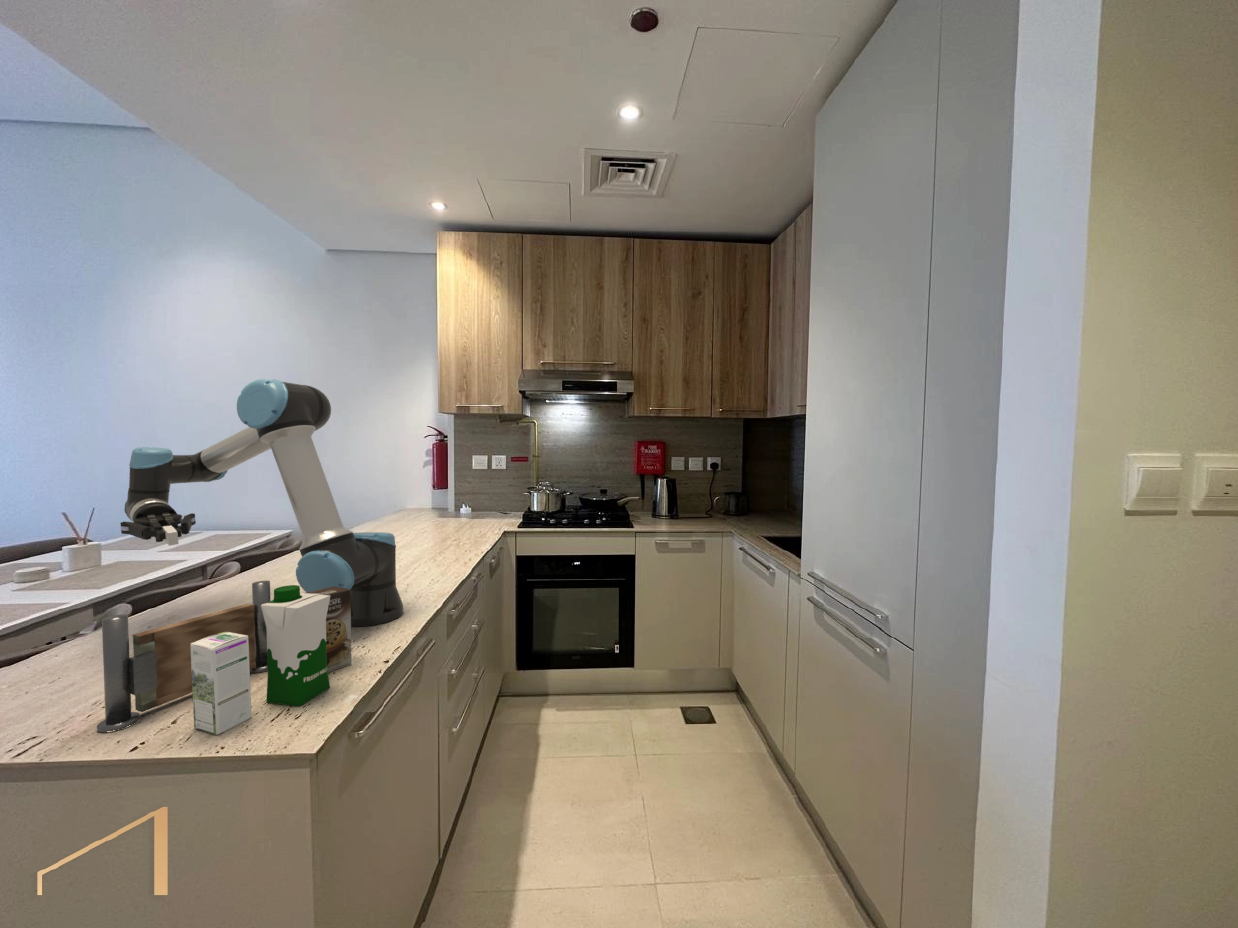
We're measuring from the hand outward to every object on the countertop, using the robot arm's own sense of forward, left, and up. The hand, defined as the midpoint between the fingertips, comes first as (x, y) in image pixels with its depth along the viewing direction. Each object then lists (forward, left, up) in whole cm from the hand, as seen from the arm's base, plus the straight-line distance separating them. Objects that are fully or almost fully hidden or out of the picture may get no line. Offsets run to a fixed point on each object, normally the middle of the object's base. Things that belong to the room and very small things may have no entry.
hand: (173, 538), depth 102 cm
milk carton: (-29, +22, -27) cm, 46 cm away
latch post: (-4, +24, -27) cm, 36 cm away
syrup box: (-20, +29, -27) cm, 45 cm away
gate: (-11, +16, -26) cm, 32 cm away
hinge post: (-18, +7, -27) cm, 33 cm away
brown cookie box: (-30, +11, -27) cm, 42 cm away
